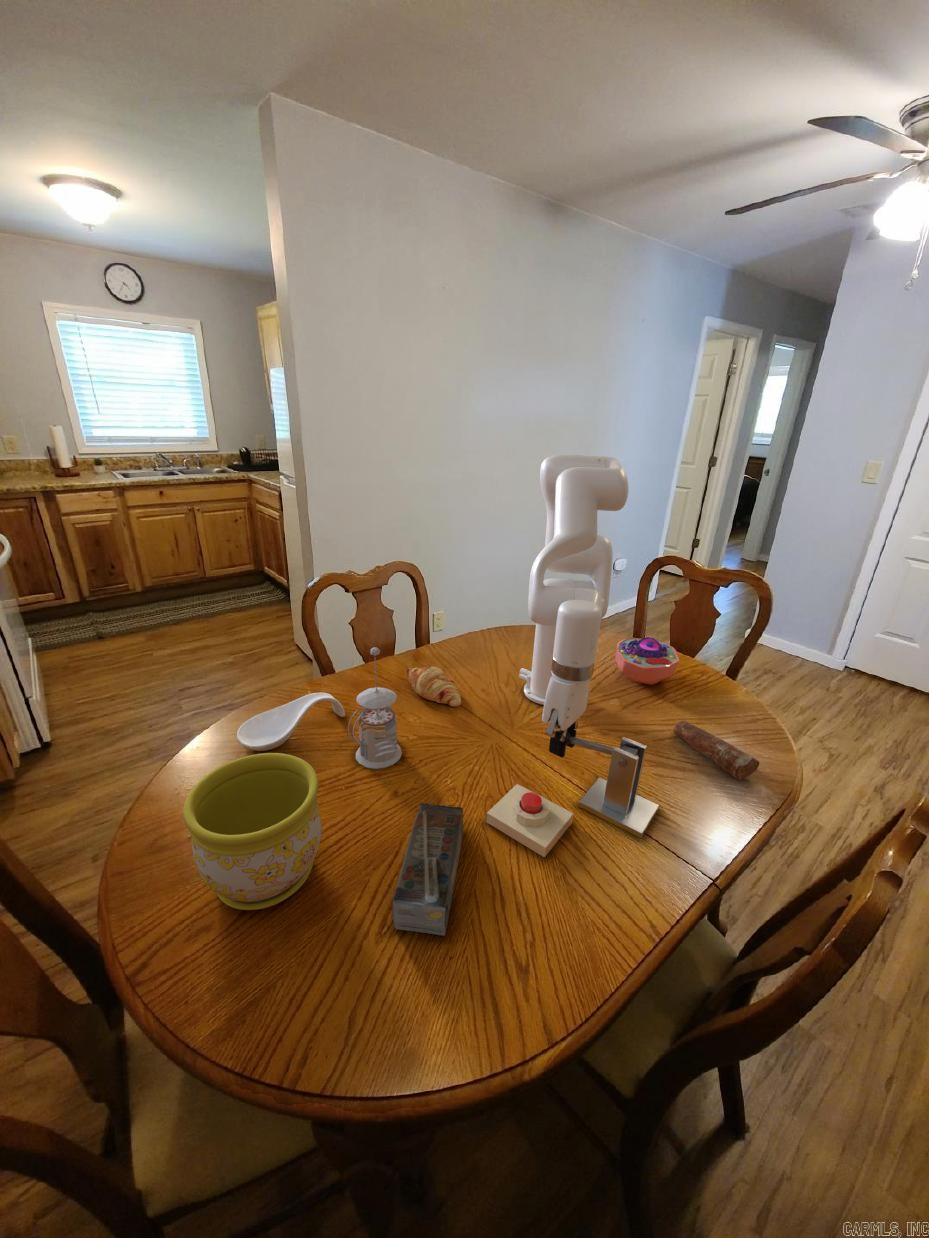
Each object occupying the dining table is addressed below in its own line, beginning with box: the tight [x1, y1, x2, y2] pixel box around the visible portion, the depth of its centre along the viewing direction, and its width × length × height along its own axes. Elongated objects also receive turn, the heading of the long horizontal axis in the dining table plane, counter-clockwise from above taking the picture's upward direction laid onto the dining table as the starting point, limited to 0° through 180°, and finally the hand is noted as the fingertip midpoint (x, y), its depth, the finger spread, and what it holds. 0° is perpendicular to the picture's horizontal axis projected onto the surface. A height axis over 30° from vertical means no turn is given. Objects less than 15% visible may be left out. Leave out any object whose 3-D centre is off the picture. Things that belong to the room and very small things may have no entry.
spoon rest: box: [236, 692, 346, 752], centre depth 111 cm, size 24×12×7 cm, turn 134°
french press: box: [347, 646, 403, 770], centre depth 101 cm, size 10×12×25 cm
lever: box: [557, 728, 638, 756], centre depth 94 cm, size 16×3×3 cm, turn 52°
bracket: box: [578, 736, 660, 839], centre depth 91 cm, size 12×9×14 cm
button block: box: [485, 783, 574, 858], centre depth 89 cm, size 12×10×4 cm
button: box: [521, 791, 542, 814], centre depth 88 cm, size 4×4×2 cm
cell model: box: [614, 636, 680, 686], centre depth 140 cm, size 17×20×11 cm
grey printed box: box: [391, 802, 464, 936], centre depth 77 cm, size 8×19×7 cm, turn 173°
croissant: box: [406, 665, 462, 707], centre depth 129 cm, size 21×10×8 cm, turn 44°
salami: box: [673, 720, 760, 781], centre depth 109 cm, size 6×19×6 cm, turn 23°
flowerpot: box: [182, 752, 322, 911], centre depth 75 cm, size 18×18×16 cm
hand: (561, 748), depth 99 cm, fingers closed on lever, 3 cm apart
